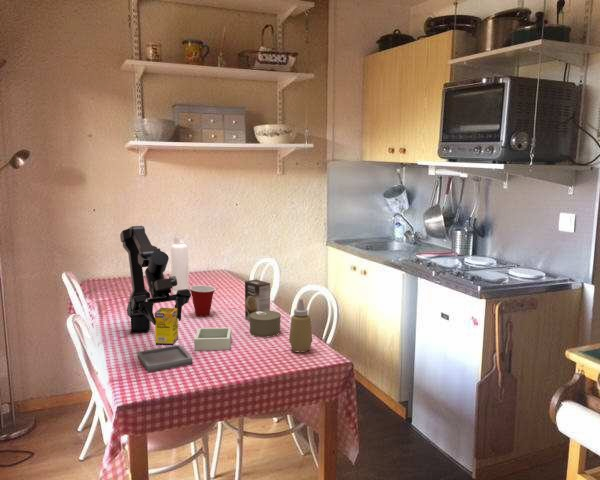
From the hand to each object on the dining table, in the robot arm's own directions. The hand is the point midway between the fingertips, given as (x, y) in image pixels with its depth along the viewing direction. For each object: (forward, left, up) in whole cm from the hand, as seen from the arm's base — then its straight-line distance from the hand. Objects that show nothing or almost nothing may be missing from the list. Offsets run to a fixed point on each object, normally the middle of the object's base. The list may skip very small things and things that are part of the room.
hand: (167, 322), depth 167 cm
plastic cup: (+6, +51, -13) cm, 53 cm away
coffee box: (+29, +42, -13) cm, 53 cm away
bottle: (-9, +89, -13) cm, 91 cm away
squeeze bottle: (+44, +7, -13) cm, 46 cm away
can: (+32, +27, -14) cm, 44 cm away
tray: (-1, +1, -13) cm, 13 cm away
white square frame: (+13, +15, -13) cm, 24 cm away
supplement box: (-1, +1, -7) cm, 8 cm away
